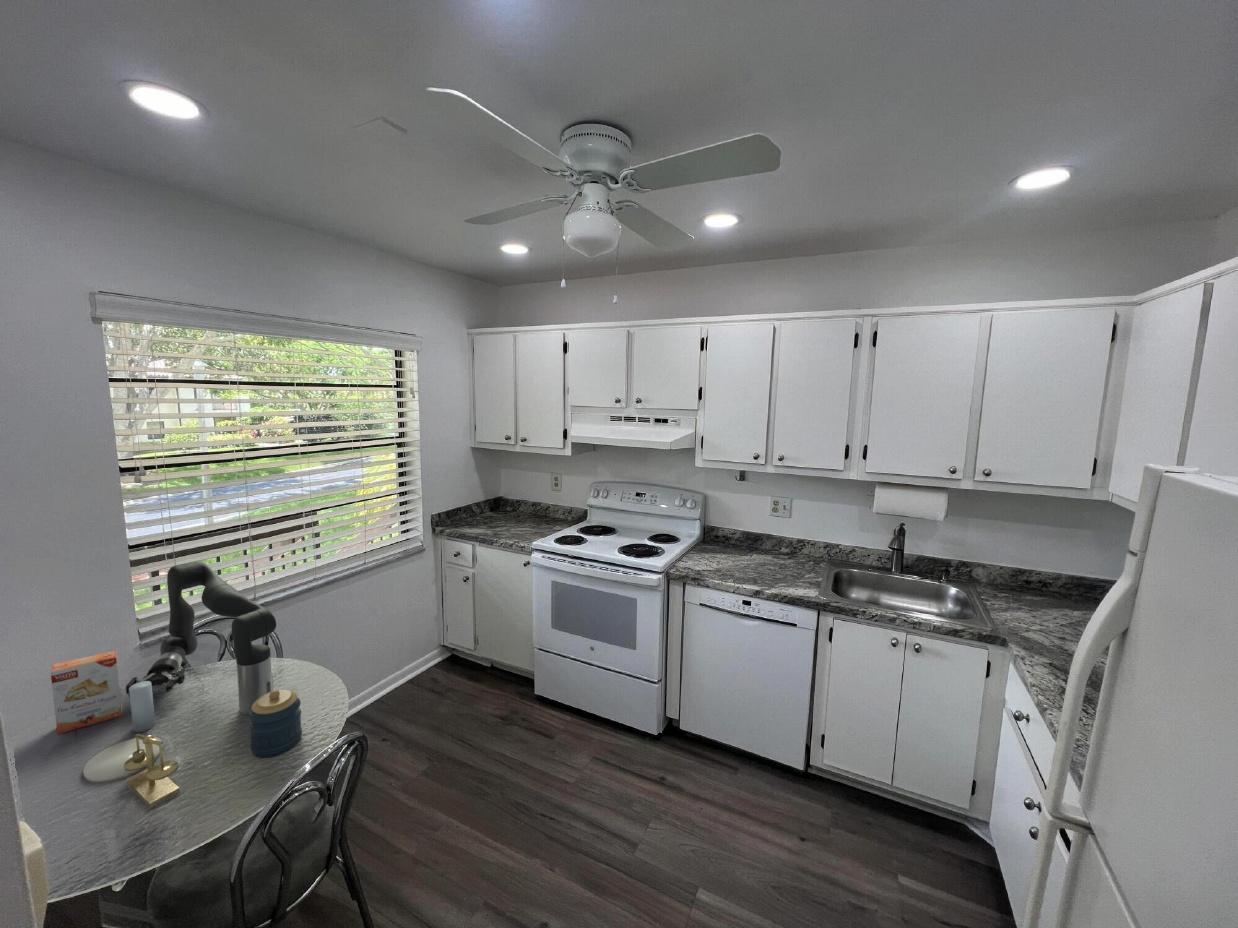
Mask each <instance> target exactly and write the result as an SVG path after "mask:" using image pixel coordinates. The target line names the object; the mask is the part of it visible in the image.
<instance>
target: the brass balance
mask: <svg viewBox="0 0 1238 928" xmlns="http://www.w3.org/2000/svg"><path fill="white" fill-rule="evenodd" d="M154 737H155V736H154V735H152V734H147V735H146V736H145V735H143V734H140V733H136V734H135V735H134V738H136V744H137V751H135V752H134V753H133V754H132V755H133V757H132V758H130V759H129V760H127V761H126V762H125V764H124V769H125V770H126V771H134V770H138V769H141V768H143V767H145V766H146V767H145V768H147V769H144V768H143V769H144V770H143V771H141V772H138V773H136V774H133V775H132V776H129V777H128V778H126V785H127V786H128V787H129V788H130V790H131V791H132V792H133V793H135V794H136V796H137V797H138V798H139V799H140V800H141V801H142V802H143V803H144V804H145V805H146V806H147V807H148V808H149V809H150V810H151V809H153V808H155V807H156V806H158V805H160V804H161V803H164V802H166V801H167V800H169V799H171V798H173V797H175V796H177V795H178V794H180V787H179V786H178V785H177V784H175V782H174V781H172V779H170V777H169V776H172V775H173V774H174V773H175V772H176V771H177V770H178V769H179V761H177V760H175V759H172V760H171V759H170V760H165V761H164V756H163V755H164V754H163V750H162V744H164V742H163V741H162V740H161V741H159V740H156V739H154ZM139 739H140V740H143V741H142V742H143V744H145V750H146V752H145V750H144V749H140V748H139ZM152 744H155V745H158V746H159V750H160V756H159V759H160V762H159V763H157V764H155V761H154V758H155V756H154V753H153V745H152ZM141 770H142V769H141Z"/></svg>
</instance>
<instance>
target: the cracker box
mask: <svg viewBox="0 0 1238 928" xmlns="http://www.w3.org/2000/svg"><path fill="white" fill-rule="evenodd" d="M50 680H51V687H52V697H53V698H52V699H53V706H54V716H55V724H56V732H57V735H60V734H63V733H66V732H67V733H68V732H71V731H73V730H74V731H75V730H77V729H81V728H85V727H88V726H91V725H96V724H99V723H102V722H106V721H108V720H112V719H116V718H119V717H120V718H121V717H122V715H123V697H122V686H121V685H122V684H121V676H120V666H119V655H118V650H112V651H108V652H103V653H97V654H94V655H88V656H85V657H81V658H75V659H69V660H66V661H61V662H58V663H56V662H55V663H53V664H52V666H51V669H50Z"/></svg>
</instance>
